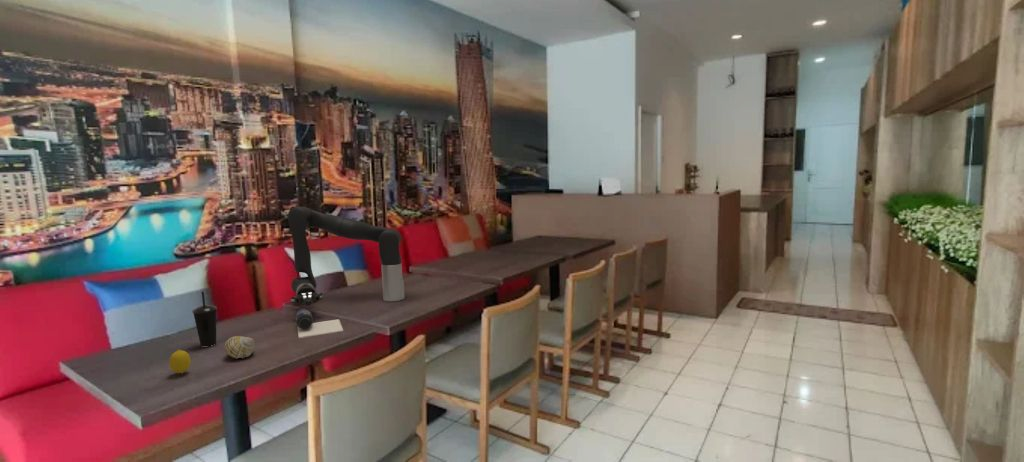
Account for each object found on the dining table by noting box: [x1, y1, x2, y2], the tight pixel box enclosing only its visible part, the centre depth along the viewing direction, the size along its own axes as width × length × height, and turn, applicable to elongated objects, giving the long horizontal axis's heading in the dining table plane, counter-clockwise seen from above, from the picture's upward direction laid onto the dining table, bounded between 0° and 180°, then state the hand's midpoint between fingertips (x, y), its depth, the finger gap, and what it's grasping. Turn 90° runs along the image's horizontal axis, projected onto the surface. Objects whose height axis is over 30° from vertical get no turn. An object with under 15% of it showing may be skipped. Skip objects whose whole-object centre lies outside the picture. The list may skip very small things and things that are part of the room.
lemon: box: [169, 349, 192, 374], centre depth 159 cm, size 6×6×8 cm
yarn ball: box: [224, 335, 255, 360], centre depth 173 cm, size 10×10×10 cm
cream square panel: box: [296, 318, 344, 339], centre depth 199 cm, size 16×15×1 cm
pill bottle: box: [295, 308, 314, 330], centre depth 200 cm, size 6×6×11 cm
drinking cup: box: [191, 291, 218, 347], centre depth 183 cm, size 8×8×20 cm
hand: (308, 303), depth 203 cm, fingers closed
